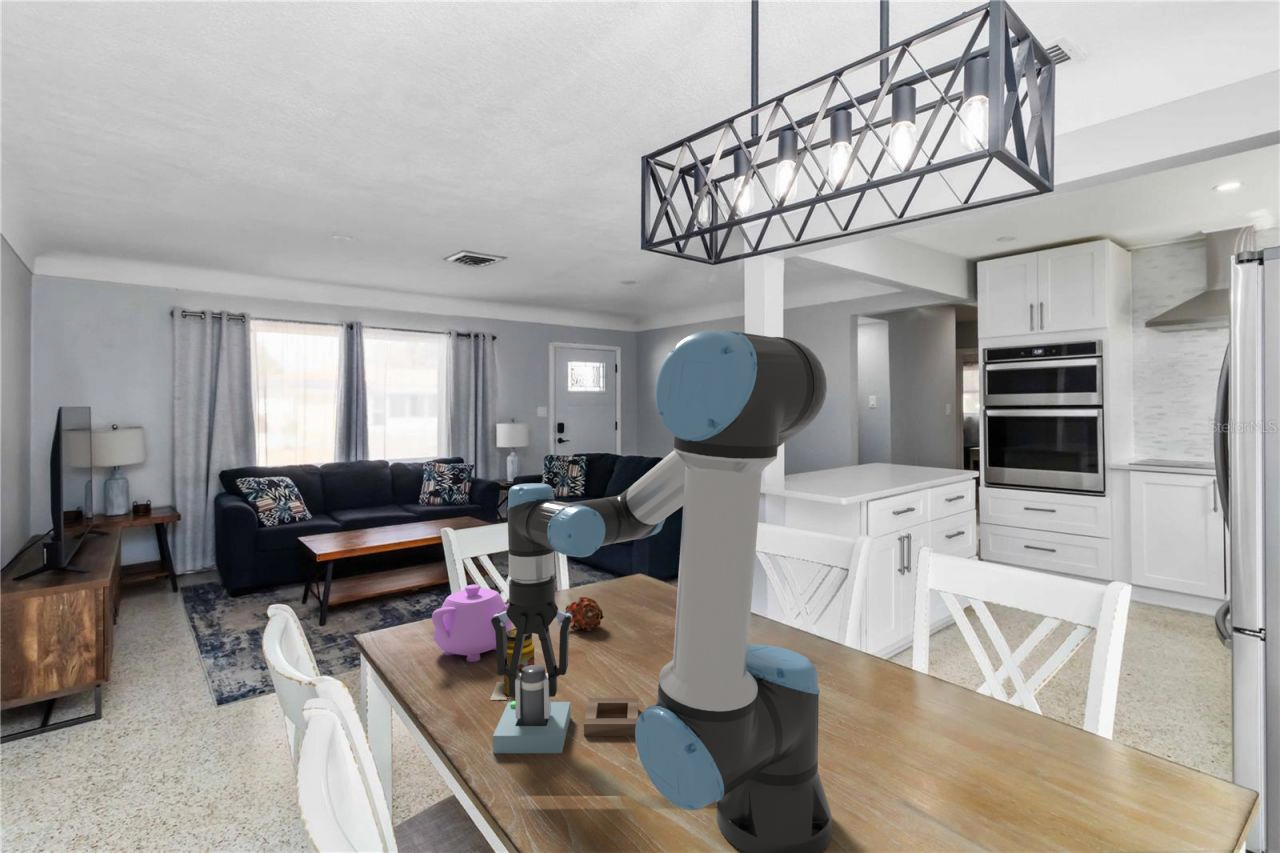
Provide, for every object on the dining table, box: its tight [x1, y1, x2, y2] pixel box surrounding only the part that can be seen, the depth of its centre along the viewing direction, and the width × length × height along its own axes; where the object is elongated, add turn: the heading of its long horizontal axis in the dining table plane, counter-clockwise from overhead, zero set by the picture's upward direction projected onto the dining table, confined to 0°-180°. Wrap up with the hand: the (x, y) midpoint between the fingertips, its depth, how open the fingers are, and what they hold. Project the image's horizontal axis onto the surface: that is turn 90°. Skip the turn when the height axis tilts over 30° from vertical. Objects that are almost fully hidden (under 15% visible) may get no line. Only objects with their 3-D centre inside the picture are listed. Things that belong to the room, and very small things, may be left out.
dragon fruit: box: [564, 596, 605, 631], centre depth 155 cm, size 8×8×12 cm
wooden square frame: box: [583, 697, 639, 737], centre depth 107 cm, size 9×9×3 cm
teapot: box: [431, 584, 513, 663], centre depth 139 cm, size 20×20×15 cm
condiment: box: [489, 627, 535, 701], centre depth 121 cm, size 7×8×12 cm
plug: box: [521, 664, 546, 726], centre depth 103 cm, size 4×4×10 cm
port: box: [492, 700, 571, 754], centre depth 103 cm, size 11×11×5 cm
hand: (533, 714), depth 103 cm, fingers closed on plug, 4 cm apart
